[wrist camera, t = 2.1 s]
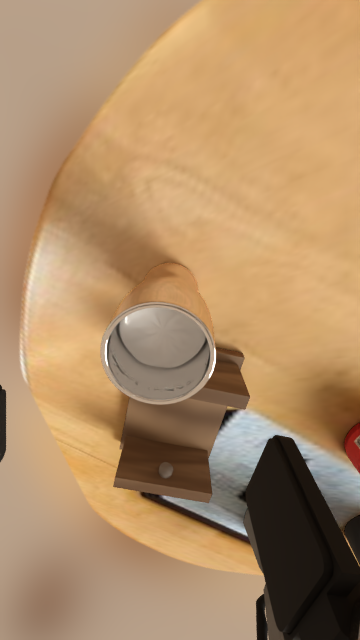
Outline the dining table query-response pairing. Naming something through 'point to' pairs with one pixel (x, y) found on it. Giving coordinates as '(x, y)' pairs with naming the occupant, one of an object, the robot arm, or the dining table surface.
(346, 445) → the canned food
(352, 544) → the travel mug
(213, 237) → the dining table surface
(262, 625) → the coffeepot
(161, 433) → the holder
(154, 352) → the beer glass
